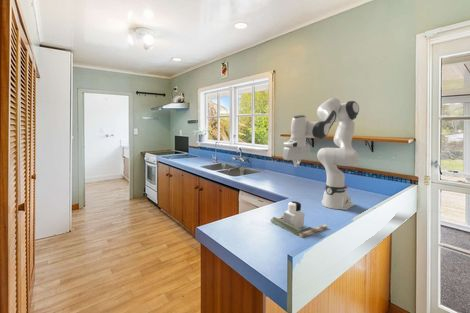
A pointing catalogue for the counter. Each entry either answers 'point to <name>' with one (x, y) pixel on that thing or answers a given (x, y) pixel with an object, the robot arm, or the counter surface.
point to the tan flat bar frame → (294, 229)
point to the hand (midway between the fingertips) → (296, 166)
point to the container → (294, 215)
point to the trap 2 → (306, 229)
